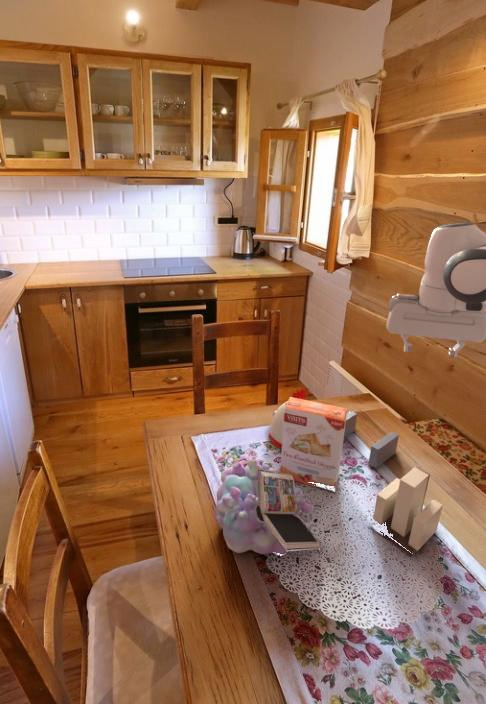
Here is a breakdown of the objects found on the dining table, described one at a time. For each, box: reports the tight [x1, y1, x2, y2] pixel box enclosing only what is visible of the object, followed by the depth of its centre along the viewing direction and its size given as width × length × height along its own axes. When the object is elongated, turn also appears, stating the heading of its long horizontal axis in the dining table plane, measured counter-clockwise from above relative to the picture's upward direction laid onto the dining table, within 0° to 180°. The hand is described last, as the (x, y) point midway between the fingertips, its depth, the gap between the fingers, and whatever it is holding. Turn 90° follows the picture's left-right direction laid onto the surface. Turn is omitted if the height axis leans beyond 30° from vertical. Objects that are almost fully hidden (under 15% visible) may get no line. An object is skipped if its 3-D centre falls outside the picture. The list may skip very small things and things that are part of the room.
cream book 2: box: [408, 499, 444, 552], centre depth 83 cm, size 2×8×7 cm, turn 128°
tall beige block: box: [391, 466, 431, 537], centre depth 85 cm, size 3×6×13 cm, turn 128°
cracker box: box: [279, 396, 348, 488], centre depth 99 cm, size 14×6×21 cm, turn 68°
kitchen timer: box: [268, 388, 308, 450], centre depth 116 cm, size 14×14×15 cm
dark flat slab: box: [380, 515, 418, 558], centre depth 88 cm, size 9×10×2 cm
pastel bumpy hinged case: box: [214, 455, 321, 555], centre depth 85 cm, size 20×22×18 cm
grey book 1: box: [344, 410, 358, 438], centre depth 118 cm, size 2×10×6 cm, turn 128°
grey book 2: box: [368, 431, 400, 469], centre depth 109 cm, size 2×10×6 cm, turn 128°
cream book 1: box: [372, 477, 401, 525], centre depth 89 cm, size 2×8×7 cm, turn 128°
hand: (429, 354), depth 94 cm, fingers open, 8 cm apart
